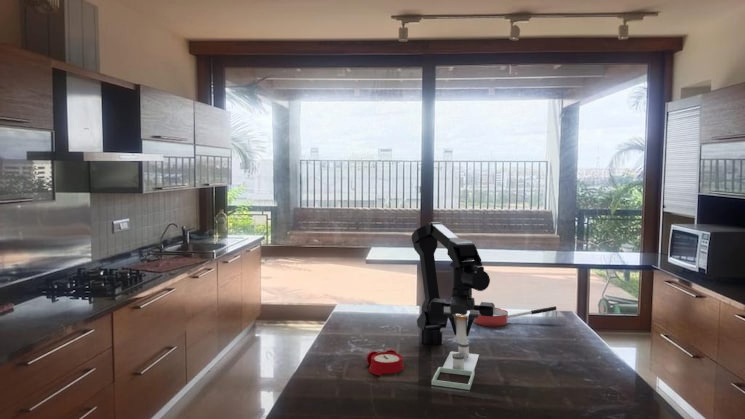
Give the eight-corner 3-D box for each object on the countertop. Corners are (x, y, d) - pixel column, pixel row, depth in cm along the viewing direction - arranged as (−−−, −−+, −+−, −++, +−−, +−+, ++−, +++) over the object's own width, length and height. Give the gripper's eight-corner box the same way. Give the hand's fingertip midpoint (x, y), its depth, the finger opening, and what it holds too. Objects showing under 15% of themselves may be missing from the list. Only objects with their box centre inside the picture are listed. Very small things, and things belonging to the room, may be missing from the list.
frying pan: (545, 315, 211) (545, 300, 210) (560, 325, 198) (560, 308, 197) (468, 318, 207) (469, 302, 206) (479, 327, 194) (479, 311, 193)
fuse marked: (454, 343, 154) (455, 317, 153) (456, 339, 157) (456, 314, 157) (466, 344, 153) (466, 318, 152) (467, 340, 156) (468, 315, 156)
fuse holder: (440, 374, 149) (441, 357, 149) (450, 354, 165) (450, 339, 165) (472, 377, 146) (472, 360, 146) (479, 357, 162) (479, 342, 162)
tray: (431, 388, 139) (431, 380, 139) (438, 374, 149) (438, 366, 149) (469, 393, 136) (469, 385, 136) (474, 378, 146) (474, 371, 146)
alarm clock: (375, 368, 144) (363, 339, 158) (373, 387, 146) (361, 357, 160) (410, 364, 147) (395, 337, 161) (408, 383, 149) (394, 355, 163)
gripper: (425, 287, 149) (425, 340, 150) (491, 292, 143) (490, 347, 144) (433, 279, 160) (432, 329, 161) (495, 283, 154) (494, 335, 155)
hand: (461, 335), depth 155 cm, fingers closed on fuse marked, 3 cm apart
